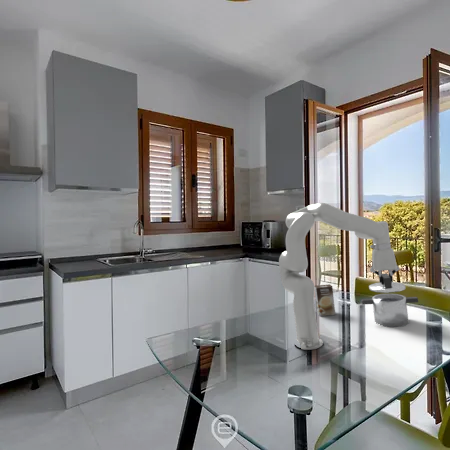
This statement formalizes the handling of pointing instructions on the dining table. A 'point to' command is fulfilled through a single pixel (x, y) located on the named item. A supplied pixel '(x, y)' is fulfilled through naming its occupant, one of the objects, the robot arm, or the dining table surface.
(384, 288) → the lid
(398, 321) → the pot
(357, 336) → the dining table surface
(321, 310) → the coffee box
